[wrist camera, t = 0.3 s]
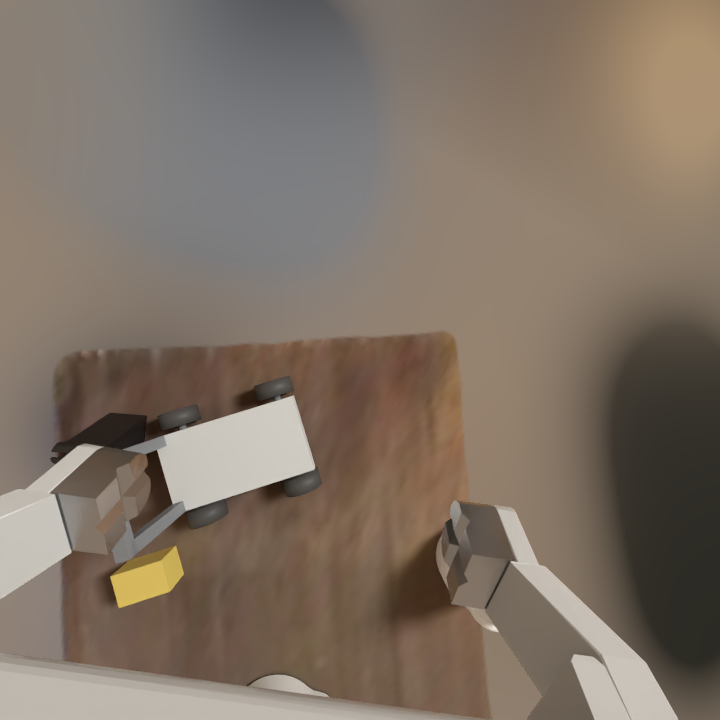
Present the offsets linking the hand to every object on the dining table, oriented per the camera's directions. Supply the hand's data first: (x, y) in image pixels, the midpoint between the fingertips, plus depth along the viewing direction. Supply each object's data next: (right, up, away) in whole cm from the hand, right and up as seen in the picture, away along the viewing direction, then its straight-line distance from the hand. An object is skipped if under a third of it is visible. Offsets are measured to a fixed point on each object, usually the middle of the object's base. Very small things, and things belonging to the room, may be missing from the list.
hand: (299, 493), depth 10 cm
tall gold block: (-33, -31, +51) cm, 68 cm away
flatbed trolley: (-18, -11, +52) cm, 56 cm away
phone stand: (-38, -10, +52) cm, 65 cm away
